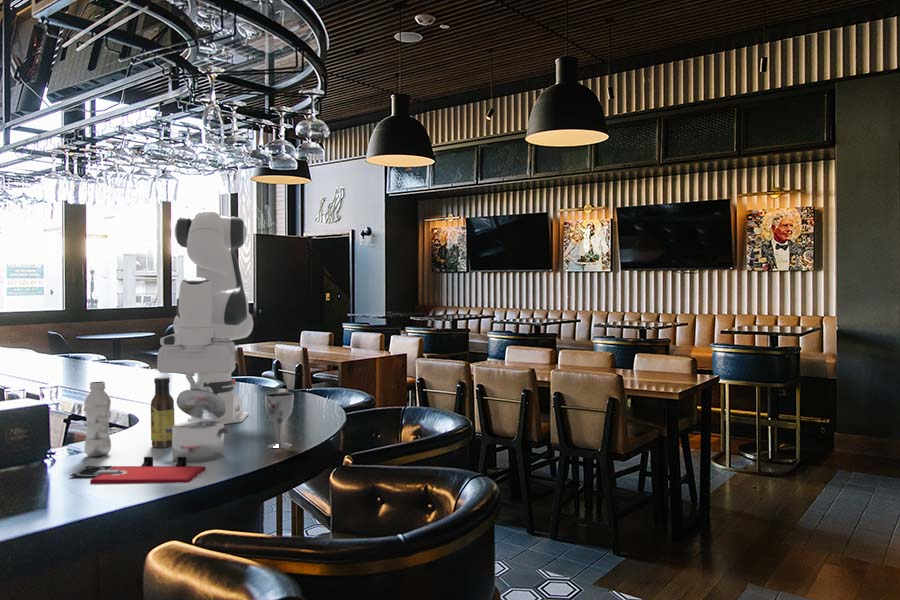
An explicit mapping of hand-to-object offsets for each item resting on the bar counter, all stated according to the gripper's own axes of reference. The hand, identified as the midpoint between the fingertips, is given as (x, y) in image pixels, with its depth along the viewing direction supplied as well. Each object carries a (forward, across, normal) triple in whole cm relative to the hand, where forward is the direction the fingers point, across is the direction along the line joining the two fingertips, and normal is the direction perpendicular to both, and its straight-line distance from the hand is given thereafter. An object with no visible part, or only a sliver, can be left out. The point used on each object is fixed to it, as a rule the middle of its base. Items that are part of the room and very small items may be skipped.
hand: (196, 389), depth 175 cm
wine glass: (+18, -18, -14) cm, 29 cm away
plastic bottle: (+18, +28, -1) cm, 34 cm away
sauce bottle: (+18, +16, -13) cm, 28 cm away
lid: (+5, 0, -3) cm, 6 cm away
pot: (+18, 0, -1) cm, 18 cm away
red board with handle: (+19, +7, +17) cm, 26 cm away
